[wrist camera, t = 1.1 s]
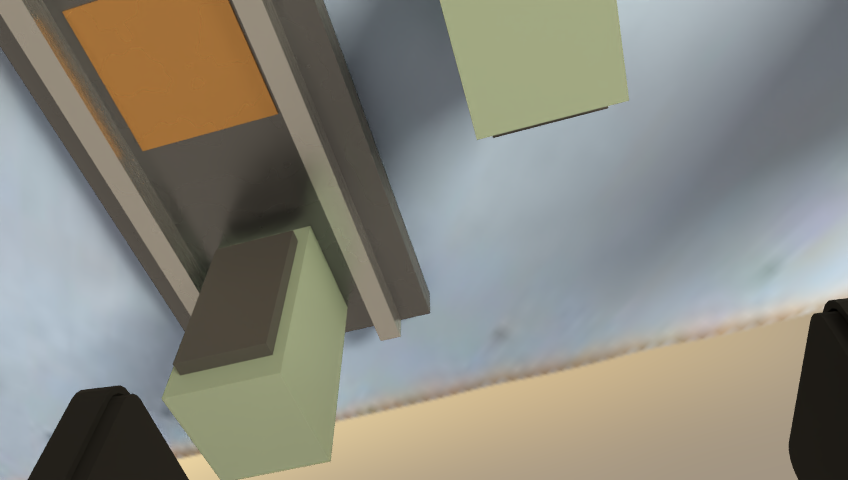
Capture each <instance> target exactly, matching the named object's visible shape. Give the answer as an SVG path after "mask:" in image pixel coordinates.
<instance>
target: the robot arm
mask: <svg viewBox="0 0 848 480" xmlns="http://www.w3.org/2000/svg"><path fill="white" fill-rule="evenodd" d="M789 454H790V459H791V463H792V466H793V469H794V471H795V473H796V475H797V478H798V480H848V298H846V299H837V300H830V301H828V302H827V303H826V304H825V307H824V310H823V313H815V314H813V316H812V317H811V321H810V326H809V331H808V337H807V343H806V349H805V354H804V360H803V366H802V372H801V377H800V383H799V389H798V394H797V400H796V405H795V411H794V417H793V422H792V428H791V434H790V439H789ZM28 480H189V479H188V477H187V476H186V474H185V473H184V471H183V469H182V468H181V466H180V464H179V462H178V461H177V459H176V457H175V456H174V454H173V453H172V451H171V449H170V448H169V446H168V444H167V443H166V441H165V439H164V438H163V436H162V434H161V433H160V431H159V429H158V428H157V426H156V424H155V423H154V421H153V419H152V418H151V416H150V414H149V413H148V411H147V409H146V408H145V406H144V404H143V403H142V401H141V399H140V398H139V397H138V396H137V395H135V394H130V393H129V392H128V391H127V390H126V388H124V387H122V386H111V387H103V388H94V389H86V390H81V391H79V392H77V393H76V394H75V395H74V397H73V398H72V399H71V401H70V403H69V405H68V407H67V409H66V410H65V412H64V414H63V416H62V418H61V420H60V421H59V423H58V425H57V427H56V429H55V431H54V432H53V434H52V436H51V438H50V440H49V442H48V443H47V445H46V447H45V449H44V451H43V453H42V454H41V456H40V458H39V460H38V462H37V464H36V465H35V467H34V469H33V471H32V473H31V475H30V476H29V478H28Z"/></svg>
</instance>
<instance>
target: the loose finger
mask: <svg viewBox="0 0 848 480" xmlns="http://www.w3.org/2000/svg"><path fill="white" fill-rule="evenodd" d="M440 4H441V7H442V11H443V15H444V19H445V22H446V26H447V30H448V33H449V37H450V41H451V45H452V48H453V52H454V56H455V60H456V63H457V67H458V71H459V74H460V78H461V82H462V86H463V89H464V93H465V97H466V100H467V104H468V108H469V112H470V115H471V119H472V123H473V126H474V130H475V134H476V138H477V140H478V139H482V138H486V137H490V136H493V138H495V137H499V136H502V135H506V134H510V133H514V132H518V131H522V130H526V129H530V128H533V127H537V126H541V125H545V124H549V123H553V122H557V121H561V120H564V119H568V118H572V117H576V116H580V115H584V114H588V113H592V112H595V111H599V110H603V109H607V108H608V106H610V105H614V104H618V103H621V102H625V101H629V96H628V88H627V81H626V73H625V65H624V57H623V49H622V41H621V33H620V25H619V17H618V9H617V1H616V0H440Z"/></svg>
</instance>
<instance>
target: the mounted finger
mask: <svg viewBox="0 0 848 480" xmlns="http://www.w3.org/2000/svg"><path fill="white" fill-rule="evenodd" d="M347 309H348V307H347V305H346V303H345V301H344V298H343V296H342V294H341V292H340V290H339V287H338V285H337V283H336V281H335V279H334V276H333V274H332V272H331V270H330V268H329V266H328V263H327V261H326V259H325V257H324V255H323V252H322V250H321V248H320V246H319V244H318V241H317V239H316V237H315V235H314V233H313V230H312V228H311V226H308V227H304V228H300V229H296V230H292V231H288V232H284V233H280V234H276V235H272V236H268V237H264V238H259V239H255V240H251V241H247V242H243V243H239V244H235V245H231V246H227V247H223V248H219V249H216V251H215V254H214V257H213V259H212V262H211V265H210V267H209V270H208V272H207V275H206V278H205V280H204V283H203V286H202V288H201V291H200V294H199V296H198V299H197V302H196V304H195V307H194V310H193V312H192V315H191V318H190V320H189V323H188V325H187V328H186V331H185V333H184V336H183V339H182V341H181V344H180V347H179V349H178V352H177V355H176V357H175V360H174V363H173V365H174V367H173V370H172V372H171V375H170V378H169V380H168V383H167V386H166V388H165V391H164V394H163V396H162V400H163V402H164V403H165V404H166V406H167V407H168V408H169V410H170V411H171V413H172V414H173V415H174V417H175V418H176V419H177V421H178V422H179V424H180V425H181V426H182V428H183V429H184V430H185V432H186V433H187V435H188V436H189V437H190V439H191V440H192V441H193V443H194V444H195V446H196V447H197V448H198V450H199V451H200V452H201V454H202V455H203V456H204V458H205V459H206V461H207V462H208V463H209V465H210V466H211V468H212V469H213V470H214V472H215V473H216V474H217V476H218V477H219V478H220V480H238V479H244V478H249V477H254V476H259V475H264V474H269V473H274V472H279V471H284V470H289V469H294V468H299V467H304V466H310V465H315V464H320V463H325V462H330V461H331V453H332V444H333V435H334V426H335V417H336V408H337V399H338V390H339V381H340V372H341V363H342V354H343V345H344V336H345V327H346V318H347Z"/></svg>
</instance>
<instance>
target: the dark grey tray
mask: <svg viewBox="0 0 848 480" xmlns="http://www.w3.org/2000/svg"><path fill="white" fill-rule="evenodd" d="M0 47H1V48H2V50H3V51H4V53H5V54H6V56H7V58H8V59H9V61H10V62H11V64H12V65H13V67H14V68H15V70H16V71H17V73H18V75H19V76H20V78H21V79H22V81H23V82H24V84H25V85H26V87H27V88H28V90H29V91H30V93H31V95H32V96H33V98H34V99H35V101H36V102H37V104H38V105H39V107H40V108H41V110H42V112H43V113H44V115H45V116H46V118H47V119H48V121H49V122H50V124H51V125H52V127H53V129H54V130H55V132H56V133H57V135H58V136H59V138H60V139H61V141H62V142H63V144H64V146H65V147H66V149H67V150H68V152H69V153H70V155H71V156H72V158H73V159H74V161H75V163H76V164H77V166H78V167H79V169H80V170H81V172H82V173H83V175H84V176H85V178H86V180H87V181H88V183H89V184H90V186H91V187H92V189H93V190H94V192H95V193H96V195H97V197H98V198H99V200H100V201H101V203H102V204H103V206H104V207H105V209H106V210H107V212H108V213H109V215H110V217H111V218H112V220H113V221H114V223H115V224H116V226H117V227H118V229H119V230H120V232H121V234H122V235H123V237H124V238H125V240H126V241H127V243H128V244H129V246H130V247H131V249H132V251H133V252H134V254H135V255H136V257H137V258H138V260H139V261H140V263H141V264H142V266H143V268H144V269H145V271H146V272H147V274H148V275H149V277H150V278H151V280H152V281H153V283H154V285H155V286H156V288H157V289H158V291H159V292H160V294H161V295H162V297H163V298H164V300H165V302H166V303H167V305H168V306H169V308H170V309H171V311H172V312H173V314H174V315H175V317H176V319H177V320H178V322H179V323H180V325H181V326H182V328H183V329H184V331H186V328H187V325H188V323H189V320H190V318H191V315H192V312H193V310H194V307H195V304H196V302H197V299H198V296H199V294H200V291H201V288H202V286H203V283H204V280H205V278H206V275H207V272H208V270H209V267H210V265H211V262H212V259H213V257H214V254H215V251H216V249H219V248H223V247H227V246H231V245H235V244H239V243H243V242H247V241H251V240H255V239H259V238H264V237H268V236H272V235H276V234H280V233H284V232H288V231H292V230H296V229H300V228H304V227H308V226H311V228H312V230H313V233H314V235H315V237H316V239H317V241H318V244H319V246H320V248H321V250H322V252H323V255H324V257H325V259H326V261H327V263H328V266H329V268H330V270H331V272H332V274H333V276H334V279H335V281H336V283H337V285H338V287H339V290H340V292H341V294H342V296H343V298H344V301H345V303H346V305H347V307H348V309H347V318H346V327H345V332H349V331H353V330H357V329H362V328H366V327H371V326H374V327H375V329H376V331H377V333H378V336H379V338H380V340H381V341H383V340H387V339H392V338H396V337H401V320H402V319H407V318H411V317H416V316H420V315H424V314H429V313H430V293H429V291H428V288H427V285H426V282H425V280H424V277H423V274H422V271H421V269H420V266H419V263H418V260H417V257H416V255H415V252H414V249H413V246H412V244H411V241H410V238H409V235H408V233H407V230H406V227H405V224H404V222H403V219H402V216H401V213H400V211H399V208H398V205H397V202H396V200H395V197H394V194H393V191H392V189H391V186H390V183H389V180H388V178H387V175H386V172H385V169H384V167H383V164H382V161H381V158H380V155H379V153H378V150H377V147H376V144H375V142H374V139H373V136H372V133H371V131H370V128H369V125H368V122H367V120H366V117H365V114H364V111H363V109H362V106H361V103H360V100H359V98H358V95H357V92H356V89H355V87H354V84H353V81H352V78H351V76H350V73H349V70H348V67H347V65H346V62H345V59H344V56H343V53H342V51H341V48H340V45H339V42H338V40H337V37H336V34H335V31H334V29H333V26H332V23H331V20H330V18H329V15H328V12H327V9H326V7H325V4H324V1H323V0H0Z"/></svg>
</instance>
